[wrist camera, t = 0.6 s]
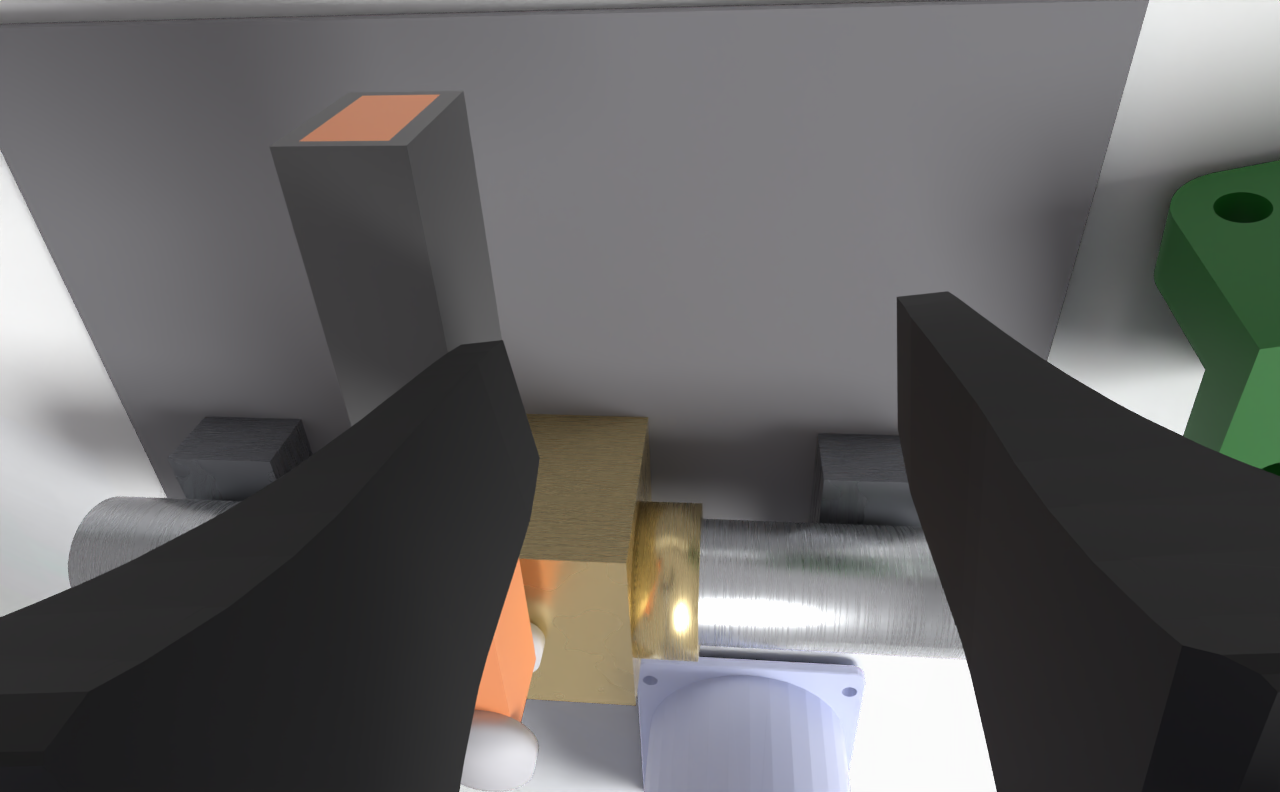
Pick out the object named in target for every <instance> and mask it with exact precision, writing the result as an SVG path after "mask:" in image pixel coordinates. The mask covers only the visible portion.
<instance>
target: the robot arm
mask: <svg viewBox="0 0 1280 792" xmlns="http://www.w3.org/2000/svg"><path fill="white" fill-rule="evenodd" d="M897 409H898V433H899V438H900V444H901V449H902V454H903V459H904V464H905V469H906V474H907V479H908V484H909V489H910V494H911V497H912V500H913V503H914V506H915V509H916V512H917V515H918V517H919V520H920V523H921V526H922V529H923V532H924V535H925V538H926V541H927V544H928V547H929V550H930V553H931V556H932V558H933V561H934V564H935V567H936V570H937V573H938V576H939V579H940V582H941V584H942V587H943V590H944V593H945V596H946V599H947V602H948V605H949V608H950V611H951V613H952V616H953V619H954V622H955V625H956V628H957V631H958V634H959V637H960V640H961V643H962V646H963V650H964V653H965V657H966V660H967V663H968V667H969V670H970V674H971V678H972V682H973V687H974V691H975V695H976V700H977V704H978V709H979V713H980V717H981V722H982V726H983V730H984V735H985V739H986V744H987V748H988V752H989V757H990V762H991V766H992V771H993V776H994V780H995V785H996V789H997V792H1280V476H1278V475H1275V474H1273V473H1270V472H1267V471H1265V470H1262V469H1259V468H1257V467H1254V466H1252V465H1249V464H1246V463H1244V462H1241V461H1238V460H1236V459H1234V458H1231V457H1229V456H1227V455H1224V454H1222V453H1219V452H1217V451H1215V450H1212V449H1210V448H1208V447H1205V446H1203V445H1201V444H1198V443H1196V442H1194V441H1192V440H1190V439H1188V438H1186V437H1184V436H1182V435H1179V434H1177V433H1175V432H1173V431H1171V430H1169V429H1167V428H1165V427H1163V426H1160V425H1158V424H1156V423H1154V422H1152V421H1150V420H1148V419H1146V418H1144V417H1142V416H1140V415H1138V414H1136V413H1134V412H1132V411H1130V410H1128V409H1126V408H1125V407H1123V406H1121V405H1119V404H1117V403H1115V402H1113V401H1112V400H1110V399H1108V398H1107V397H1105V396H1103V395H1101V394H1100V393H1098V392H1096V391H1095V390H1093V389H1091V388H1089V387H1088V386H1086V385H1084V384H1083V383H1081V382H1079V381H1077V380H1076V379H1074V378H1072V377H1071V376H1069V375H1068V374H1066V373H1064V372H1063V371H1061V370H1060V369H1058V368H1056V367H1055V366H1053V365H1052V364H1050V363H1049V362H1047V361H1046V360H1044V359H1043V358H1041V357H1040V356H1038V355H1037V354H1035V353H1034V352H1032V351H1031V350H1029V349H1028V348H1026V347H1025V346H1023V345H1022V344H1020V343H1019V342H1018V341H1016V340H1015V339H1013V338H1012V337H1011V336H1009V335H1008V334H1006V333H1005V332H1004V331H1002V330H1001V329H999V328H998V327H997V326H995V325H994V324H993V323H991V322H990V321H988V320H987V319H986V318H984V317H983V316H982V315H980V314H979V313H978V312H976V311H975V310H974V309H972V308H971V307H970V306H968V305H967V304H966V303H964V302H963V301H961V300H960V299H959V298H957V297H956V296H954V295H953V294H951V293H950V292H948V291H945V292H936V293H927V294H918V295H909V296H900V297H897ZM539 460H540V457H539V454H538V451H537V447H536V444H535V441H534V438H533V435H532V431H531V428H530V425H529V422H528V419H527V415H526V412H525V409H524V406H523V403H522V399H521V396H520V393H519V390H518V387H517V383H516V380H515V377H514V374H513V370H512V367H511V364H510V361H509V358H508V354H507V351H506V348H505V345H504V342H503V340H498V341H489V342H480V343H471V344H462V345H460V346H458V347H456V348H455V349H453V350H451V351H450V352H448V353H447V354H445V355H444V356H442V357H441V358H440V359H438V360H437V361H435V362H434V363H433V364H431V365H430V366H429V367H427V368H426V369H425V370H424V371H422V372H421V373H420V374H418V375H417V376H416V377H415V378H413V379H412V380H411V381H409V382H408V383H407V384H406V385H404V386H403V387H402V388H401V389H399V390H398V391H397V392H395V393H394V394H393V395H392V396H390V397H389V398H388V399H387V400H385V401H384V402H383V403H381V404H380V405H379V406H378V407H376V408H375V409H374V410H373V411H371V412H370V413H369V414H367V415H366V416H365V417H364V418H362V419H361V420H360V421H358V422H357V423H356V424H354V425H353V426H352V427H350V428H349V429H348V430H346V431H345V432H343V433H342V434H341V435H339V436H338V437H336V438H335V439H334V440H332V441H331V442H330V443H328V444H327V445H325V446H324V447H323V448H321V449H320V450H319V451H317V452H316V453H314V454H313V455H312V456H310V457H309V458H308V459H306V460H305V461H303V462H302V463H301V464H299V465H298V466H296V467H295V468H293V469H292V470H290V471H289V472H287V473H286V474H284V475H283V476H281V477H280V478H278V479H277V480H275V481H274V482H272V483H271V484H269V485H267V486H266V487H264V488H263V489H261V490H259V491H258V492H256V493H254V494H253V495H251V496H249V497H248V498H246V499H245V500H243V501H241V502H240V503H238V504H236V505H235V506H233V507H231V508H230V509H228V510H226V511H225V512H223V513H221V514H219V515H218V516H216V517H214V518H212V519H211V520H209V521H207V522H205V523H203V524H201V525H199V526H197V527H195V528H193V529H191V530H189V531H188V532H186V533H184V534H182V535H180V536H178V537H176V538H174V539H172V540H170V541H168V542H166V543H164V544H163V545H161V546H159V547H157V548H155V549H153V550H151V551H149V552H147V553H145V554H143V555H141V556H139V557H138V558H136V559H134V560H132V561H129V562H127V563H125V564H123V565H121V566H119V567H117V568H115V569H112V570H110V571H108V572H106V573H104V574H101V575H99V576H97V577H95V578H93V579H90V580H88V581H86V582H84V583H82V584H79V585H77V586H75V587H72V588H70V589H68V590H65V591H63V592H61V593H58V594H56V595H54V596H51V597H49V598H47V599H44V600H42V601H40V602H37V603H35V604H32V605H30V606H28V607H25V608H23V609H20V610H18V611H15V612H13V613H10V614H8V615H5V616H3V617H0V792H459V789H460V783H461V778H462V772H463V766H464V760H465V755H466V750H467V745H468V740H469V735H470V730H471V725H472V720H473V715H474V710H475V705H476V700H477V695H478V690H479V686H480V682H481V678H482V675H483V671H484V667H485V663H486V660H487V656H488V653H489V650H490V647H491V643H492V640H493V637H494V634H495V631H496V628H497V625H498V621H499V618H500V615H501V612H502V609H503V606H504V603H505V599H506V596H507V593H508V590H509V587H510V584H511V581H512V577H513V574H514V571H515V568H516V565H517V562H518V558H519V555H520V552H521V549H522V545H523V542H524V539H525V536H526V532H527V529H528V525H529V522H530V518H531V512H532V506H533V501H534V495H535V489H536V481H537V474H538V467H539ZM865 683H866V682H865V676H864V671H863V670H862V669H861V668H859V667H857V666H853V665H838V664H820V663H802V662H783V661H765V660H747V659H729V658H711V657H699V660H698V662H695V661H677V660H659V659H641V664H640V673H639V681H638V690H637V694H638V709H639V725H640V740H641V756H642V771H643V786H644V792H851V790H850V781H849V770H850V764H851V759H852V753H853V748H854V742H855V737H856V732H857V726H858V721H859V715H860V710H861V705H862V699H863V694H864V688H865Z"/></svg>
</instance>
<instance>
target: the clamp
mask: <svg viewBox="0 0 1280 792" xmlns="http://www.w3.org/2000/svg"><path fill="white" fill-rule="evenodd" d="M1154 280H1155V284H1156V286H1157V288H1158V289H1159V291H1160V293H1161V295H1162V296H1163V298H1164V300H1165V301H1166V303H1167V305H1168V306H1169V308H1170V310H1171V312H1172V313H1173V315H1174V317H1175V318H1176V320H1177V322H1178V324H1179V325H1180V327H1181V329H1182V330H1183V332H1184V334H1185V336H1186V337H1187V339H1188V341H1189V342H1190V344H1191V346H1192V348H1193V349H1194V351H1195V353H1196V354H1197V356H1198V358H1199V360H1200V361H1201V363H1202V365H1203V366H1204V368H1205V372H1204V375H1203V378H1202V381H1201V384H1200V387H1199V390H1198V393H1197V396H1196V399H1195V402H1194V405H1193V408H1192V411H1191V414H1190V417H1189V420H1188V423H1187V426H1186V429H1185V432H1184V435H1183V436H1184V437H1186V438H1188V439H1190V440H1192V441H1194V442H1196V443H1198V444H1201V445H1203V446H1205V447H1208V448H1210V449H1212V450H1215V451H1217V452H1219V453H1222V454H1224V455H1227V456H1229V457H1231V458H1234V459H1236V460H1238V461H1241V462H1244V463H1246V464H1249V465H1252V466H1254V467H1257V468H1259V469H1262V470H1265V471H1267V472H1270V473H1273V474H1275V475H1278V476H1280V160H1278V161H1273V162H1268V163H1262V164H1257V165H1252V166H1247V167H1241V168H1236V169H1231V170H1226V171H1220V172H1215V173H1211V174H1207V175H1203V176H1201V177H1198V178H1195V179H1193V180H1191V181H1189V182H1188V183H1186V184H1184V185H1183V186H1182V187H1180V188H1179V189H1178V190H1177V191H1176V193H1175V194H1174V195H1173V197H1172V199H1171V203H1170V207H1169V211H1168V216H1167V220H1166V224H1165V228H1164V232H1163V237H1162V241H1161V245H1160V249H1159V253H1158V258H1157V262H1156V266H1155V270H1154Z"/></svg>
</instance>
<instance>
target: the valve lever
mask: <svg viewBox="0 0 1280 792" xmlns="http://www.w3.org/2000/svg"><path fill="white" fill-rule="evenodd" d="M269 147H270V151H271V154H272V158H273V161H274V165H275V168H276V171H277V175H278V178H279V182H280V185H281V188H282V192H283V195H284V199H285V202H286V205H287V209H288V212H289V216H290V219H291V222H292V226H293V229H294V233H295V236H296V239H297V243H298V246H299V250H300V253H301V256H302V260H303V263H304V267H305V270H306V273H307V277H308V280H309V284H310V287H311V290H312V294H313V297H314V301H315V304H316V307H317V311H318V314H319V318H320V321H321V324H322V328H323V331H324V335H325V338H326V342H327V345H328V348H329V352H330V355H331V359H332V362H333V365H334V369H335V372H336V376H337V379H338V382H339V386H340V389H341V393H342V396H343V399H344V403H345V406H346V410H347V413H348V416H349V420H350V423H351V426H353V425H354V424H356V423H357V422H358V421H360V420H361V419H362V418H364V417H365V416H366V415H367V414H369V413H370V412H371V411H373V410H374V409H375V408H376V407H378V406H379V405H380V404H381V403H383V402H384V401H385V400H387V399H388V398H389V397H390V396H392V395H393V394H394V393H395V392H397V391H398V390H399V389H401V388H402V387H403V386H404V385H406V384H407V383H408V382H409V381H411V380H412V379H413V378H415V377H416V376H417V375H418V374H420V373H421V372H422V371H424V370H425V369H426V368H427V367H429V366H430V365H431V364H433V363H434V362H435V361H437V360H438V359H440V358H441V357H442V356H444V355H445V354H447V353H448V352H450V351H451V350H453V349H455V348H456V347H458V346H460V345H462V344H471V343H480V342H489V341H498V340H502V337H501V330H500V324H499V317H498V311H497V304H496V298H495V291H494V285H493V279H492V272H491V266H490V259H489V253H488V246H487V240H486V233H485V227H484V220H483V214H482V207H481V201H480V194H479V188H478V181H477V175H476V168H475V162H474V155H473V149H472V142H471V136H470V129H469V123H468V116H467V110H466V103H465V97H464V91H411V92H349V93H347V94H346V95H344V96H343V97H341V98H340V99H338V100H337V101H335V102H334V103H332V104H331V105H329V106H328V107H327V108H325V109H324V110H322V111H321V112H319V113H318V114H316V115H315V116H313V117H312V118H310V119H309V120H307V121H306V122H305V123H303V124H302V125H300V126H299V127H297V128H296V129H294V130H293V131H291V132H290V133H288V134H287V135H286V136H284V137H283V138H281V139H280V140H278V141H277V142H275V143H274V144H272V145H271V146H269ZM544 645H545V636H544V634H543V632H542V631H541V630H540V629H539V628H538V627H537V626H536V625H535V624H533V623H531V622H530V620H529V614H528V608H527V602H526V596H525V590H524V584H523V578H522V572H521V567H520V561H519V558H518V562H517V565H516V568H515V571H514V574H513V577H512V581H511V584H510V587H509V590H508V593H507V596H506V599H505V603H504V606H503V609H502V612H501V615H500V618H499V621H498V625H497V628H496V631H495V634H494V637H493V640H492V643H491V647H490V650H489V653H488V656H487V660H486V663H485V667H484V671H483V675H482V678H481V682H480V686H479V690H478V695H477V700H476V705H475V710H474V715H473V720H472V725H471V730H470V735H469V740H468V745H467V750H466V755H465V760H464V766H463V772H462V778H461V783H460V784H461V785H464V786H466V787H469V788H473V789H477V790H482V791H491V792H501V791H509V790H514V789H517V788H520V787H522V786H524V785H525V784H527V783H528V782H529V781H530V780H531V778H532V776H533V774H534V770H535V765H536V760H537V756H538V751H539V744H538V741H537V739H536V737H535V735H534V734H533V733H532V732H531V731H530V729H528V728H527V727H526V726H525V725H523V724H522V723H521V719H522V715H523V711H524V707H525V703H526V699H527V695H528V690H529V686H530V682H531V678H532V674H533V672H534V671H536V670H537V669H538V667H539V665H540V662H541V658H542V654H543V649H544Z"/></svg>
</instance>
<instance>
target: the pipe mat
mask: <svg viewBox="0 0 1280 792" xmlns="http://www.w3.org/2000/svg"><path fill="white" fill-rule="evenodd" d="M1148 3H1149V0H954V1H914V2H874V3H833V4H793V5H753V6H712V7H672V8H632V9H591V10H551V11H511V12H470V13H430V14H390V15H349V16H309V17H269V18H228V19H188V20H148V21H107V22H67V23H27V24H0V150H1V152H2V154H3V156H4V158H5V160H6V162H7V164H8V166H9V168H10V170H11V172H12V175H13V177H14V179H15V181H16V183H17V185H18V187H19V189H20V191H21V193H22V195H23V197H24V200H25V202H26V204H27V206H28V208H29V210H30V212H31V214H32V216H33V218H34V220H35V222H36V225H37V227H38V229H39V231H40V233H41V235H42V237H43V239H44V241H45V243H46V245H47V248H48V250H49V252H50V254H51V256H52V258H53V260H54V262H55V264H56V266H57V268H58V270H59V273H60V275H61V277H62V279H63V281H64V283H65V285H66V287H67V289H68V291H69V293H70V295H71V298H72V300H73V302H74V304H75V306H76V308H77V310H78V312H79V314H80V316H81V318H82V320H83V323H84V325H85V327H86V329H87V331H88V333H89V335H90V337H91V339H92V341H93V343H94V345H95V348H96V350H97V352H98V354H99V356H100V358H101V360H102V362H103V364H104V366H105V368H106V371H107V373H108V375H109V377H110V379H111V381H112V383H113V385H114V387H115V389H116V391H117V393H118V396H119V398H120V400H121V402H122V404H123V406H124V408H125V410H126V412H127V414H128V416H129V418H130V421H131V423H132V425H133V427H134V429H135V431H136V433H137V435H138V437H139V439H140V441H141V443H142V446H143V448H144V450H145V452H146V454H147V456H148V458H149V460H150V462H151V464H152V466H153V468H154V471H155V473H156V475H157V477H158V479H159V481H160V483H161V485H162V487H163V489H164V491H165V493H166V496H167V498H171V499H186V497H185V495H184V493H183V491H182V489H181V486H180V484H179V482H178V480H177V478H176V476H175V473H174V471H173V469H172V467H171V465H170V463H169V460H168V457H169V456H170V455H171V454H172V453H173V452H174V451H175V450H176V449H177V447H178V446H179V445H180V444H181V443H182V442H183V441H184V440H185V439H186V437H187V436H188V435H189V434H190V433H191V432H192V431H193V430H194V429H195V427H196V426H197V425H198V424H199V423H200V422H201V421H202V420H203V419H204V417H205V416H208V417H245V418H282V419H301V420H302V423H303V426H304V429H305V432H306V435H307V438H308V441H309V444H310V447H311V450H312V453H313V454H314V453H316V452H317V451H319V450H320V449H321V448H323V447H324V446H325V445H327V444H328V443H330V442H331V441H332V440H334V439H335V438H336V437H338V436H339V435H341V434H342V433H343V432H345V431H346V430H348V429H349V428H350V427H352V426H351V423H350V420H349V416H348V413H347V410H346V406H345V403H344V399H343V396H342V393H341V389H340V386H339V382H338V379H337V376H336V372H335V369H334V365H333V362H332V359H331V355H330V352H329V348H328V345H327V342H326V338H325V335H324V331H323V328H322V324H321V321H320V318H319V314H318V311H317V307H316V304H315V301H314V297H313V294H312V290H311V287H310V284H309V280H308V277H307V273H306V270H305V267H304V263H303V260H302V256H301V253H300V250H299V246H298V243H297V239H296V236H295V233H294V229H293V226H292V222H291V219H290V216H289V212H288V209H287V205H286V202H285V199H284V195H283V192H282V188H281V185H280V182H279V178H278V175H277V171H276V168H275V165H274V161H273V158H272V154H271V151H270V147H269V146H271V145H272V144H274V143H275V142H277V141H278V140H280V139H281V138H283V137H284V136H286V135H287V134H288V133H290V132H291V131H293V130H294V129H296V128H297V127H299V126H300V125H302V124H303V123H305V122H306V121H307V120H309V119H310V118H312V117H313V116H315V115H316V114H318V113H319V112H321V111H322V110H324V109H325V108H327V107H328V106H329V105H331V104H332V103H334V102H335V101H337V100H338V99H340V98H341V97H343V96H344V95H346V94H347V93H349V92H411V91H464V97H465V103H466V110H467V116H468V123H469V129H470V136H471V142H472V149H473V155H474V162H475V168H476V175H477V181H478V188H479V194H480V201H481V207H482V214H483V220H484V227H485V233H486V240H487V246H488V253H489V259H490V266H491V272H492V279H493V285H494V291H495V298H496V304H497V311H498V317H499V324H500V330H501V337H502V340H503V342H504V345H505V348H506V351H507V354H508V358H509V361H510V364H511V367H512V370H513V374H514V377H515V380H516V383H517V387H518V390H519V393H520V396H521V399H522V403H523V406H524V409H525V412H526V414H552V415H591V416H630V417H648V424H649V449H650V474H651V498H652V502H677V503H703V519H723V520H750V521H776V522H802V523H808V522H809V513H810V503H811V494H812V484H813V474H814V465H815V455H816V446H817V436H818V433H835V434H872V435H899V433H898V409H897V297H900V296H909V295H918V294H927V293H936V292H945V291H948V292H950V293H951V294H953V295H954V296H956V297H957V298H959V299H960V300H961V301H963V302H964V303H966V304H967V305H968V306H970V307H971V308H972V309H974V310H975V311H976V312H978V313H979V314H980V315H982V316H983V317H984V318H986V319H987V320H988V321H990V322H991V323H993V324H994V325H995V326H997V327H998V328H999V329H1001V330H1002V331H1004V332H1005V333H1006V334H1008V335H1009V336H1011V337H1012V338H1013V339H1015V340H1016V341H1018V342H1019V343H1020V344H1022V345H1023V346H1025V347H1026V348H1028V349H1029V350H1031V351H1032V352H1034V353H1035V354H1037V355H1038V356H1040V357H1041V358H1043V359H1044V360H1046V361H1047V359H1048V356H1049V352H1050V348H1051V345H1052V341H1053V338H1054V334H1055V331H1056V327H1057V324H1058V320H1059V317H1060V313H1061V310H1062V306H1063V303H1064V299H1065V296H1066V292H1067V288H1068V285H1069V281H1070V278H1071V274H1072V271H1073V267H1074V264H1075V260H1076V257H1077V253H1078V250H1079V246H1080V243H1081V239H1082V236H1083V232H1084V228H1085V225H1086V221H1087V218H1088V214H1089V211H1090V207H1091V204H1092V200H1093V197H1094V193H1095V190H1096V186H1097V183H1098V179H1099V176H1100V172H1101V168H1102V165H1103V161H1104V158H1105V154H1106V151H1107V147H1108V144H1109V140H1110V137H1111V133H1112V130H1113V126H1114V123H1115V119H1116V115H1117V112H1118V108H1119V105H1120V101H1121V98H1122V94H1123V91H1124V87H1125V84H1126V80H1127V77H1128V73H1129V70H1130V66H1131V63H1132V59H1133V55H1134V52H1135V48H1136V45H1137V41H1138V38H1139V34H1140V31H1141V27H1142V24H1143V20H1144V17H1145V13H1146V10H1147V6H1148Z"/></svg>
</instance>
